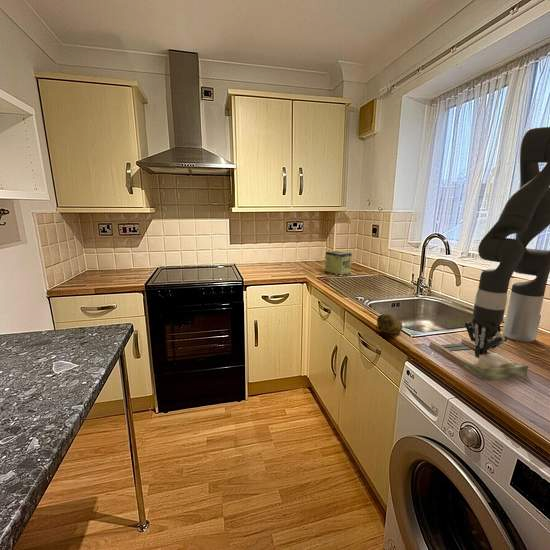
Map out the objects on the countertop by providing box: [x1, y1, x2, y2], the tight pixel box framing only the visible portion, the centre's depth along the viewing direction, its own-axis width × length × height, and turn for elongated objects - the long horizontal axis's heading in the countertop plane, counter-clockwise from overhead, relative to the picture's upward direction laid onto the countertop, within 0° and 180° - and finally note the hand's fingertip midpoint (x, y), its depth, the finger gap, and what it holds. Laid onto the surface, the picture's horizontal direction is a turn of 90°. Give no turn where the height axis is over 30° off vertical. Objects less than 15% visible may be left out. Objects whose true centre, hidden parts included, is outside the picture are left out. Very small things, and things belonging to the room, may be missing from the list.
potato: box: [376, 313, 403, 335], centre depth 113 cm, size 8×13×8 cm, turn 112°
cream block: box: [476, 352, 516, 371], centre depth 88 cm, size 6×6×4 cm
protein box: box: [324, 250, 353, 276], centre depth 213 cm, size 10×16×16 cm
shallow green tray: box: [429, 337, 529, 381], centre depth 95 cm, size 14×22×3 cm, turn 12°
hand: (479, 357), depth 93 cm, fingers closed
